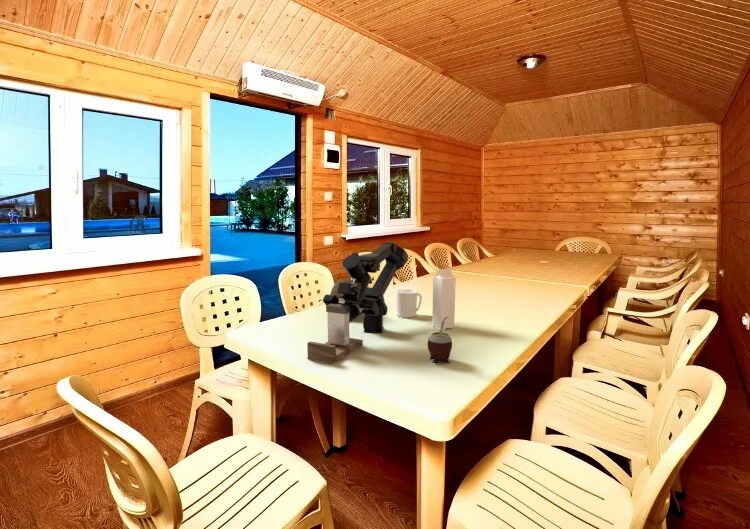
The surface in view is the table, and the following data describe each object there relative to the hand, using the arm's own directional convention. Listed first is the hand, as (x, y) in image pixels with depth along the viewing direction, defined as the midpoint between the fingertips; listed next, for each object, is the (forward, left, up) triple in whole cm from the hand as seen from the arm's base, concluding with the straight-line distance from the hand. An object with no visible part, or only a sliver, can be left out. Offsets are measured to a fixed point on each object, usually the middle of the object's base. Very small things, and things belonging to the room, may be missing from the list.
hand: (341, 327), depth 137 cm
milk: (-32, -30, -7) cm, 44 cm away
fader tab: (+1, +2, -5) cm, 5 cm away
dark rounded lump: (+7, -41, -7) cm, 42 cm away
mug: (-18, -44, -7) cm, 48 cm away
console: (+1, +3, -7) cm, 8 cm away
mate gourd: (-31, +6, -7) cm, 32 cm away
